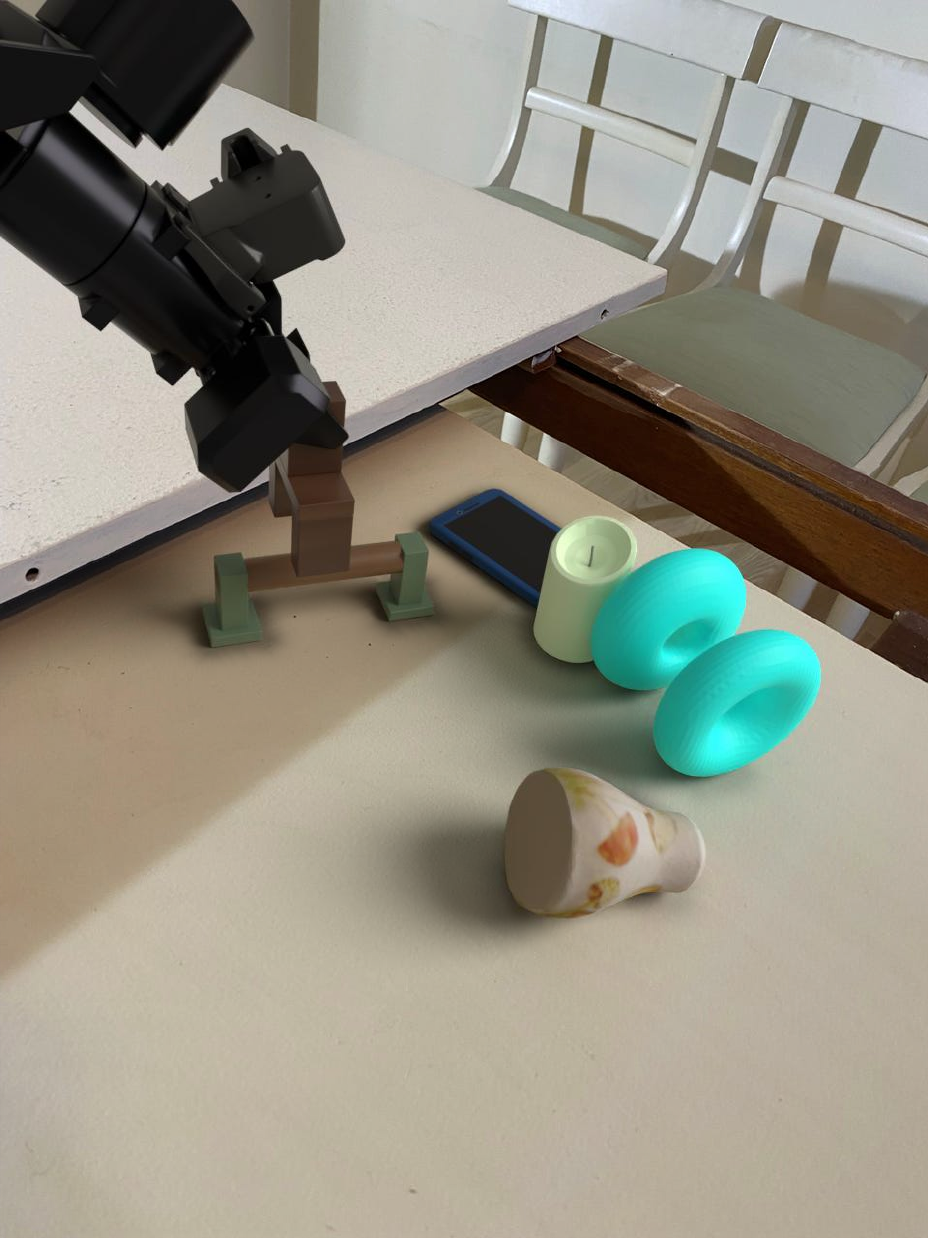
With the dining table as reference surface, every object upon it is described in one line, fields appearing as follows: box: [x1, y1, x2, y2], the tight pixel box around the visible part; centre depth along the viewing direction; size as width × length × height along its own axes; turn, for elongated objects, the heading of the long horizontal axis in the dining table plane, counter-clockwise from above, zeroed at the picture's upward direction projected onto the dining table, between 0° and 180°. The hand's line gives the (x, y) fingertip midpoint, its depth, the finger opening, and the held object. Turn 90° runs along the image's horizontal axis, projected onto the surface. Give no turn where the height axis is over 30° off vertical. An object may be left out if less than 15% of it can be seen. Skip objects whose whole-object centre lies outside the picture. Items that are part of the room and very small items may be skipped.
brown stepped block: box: [268, 380, 356, 578], centre depth 57 cm, size 7×3×10 cm, turn 20°
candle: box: [533, 515, 638, 664], centre depth 63 cm, size 5×5×8 cm
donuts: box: [591, 548, 822, 778], centre depth 58 cm, size 10×10×10 cm
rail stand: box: [202, 531, 436, 648], centre depth 63 cm, size 14×3×5 cm, turn 110°
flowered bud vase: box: [503, 766, 707, 919], centre depth 51 cm, size 8×10×10 cm
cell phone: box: [428, 487, 562, 608], centre depth 71 cm, size 7×14×1 cm, turn 47°
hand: (336, 430), depth 56 cm, fingers closed on brown stepped block, 2 cm apart
